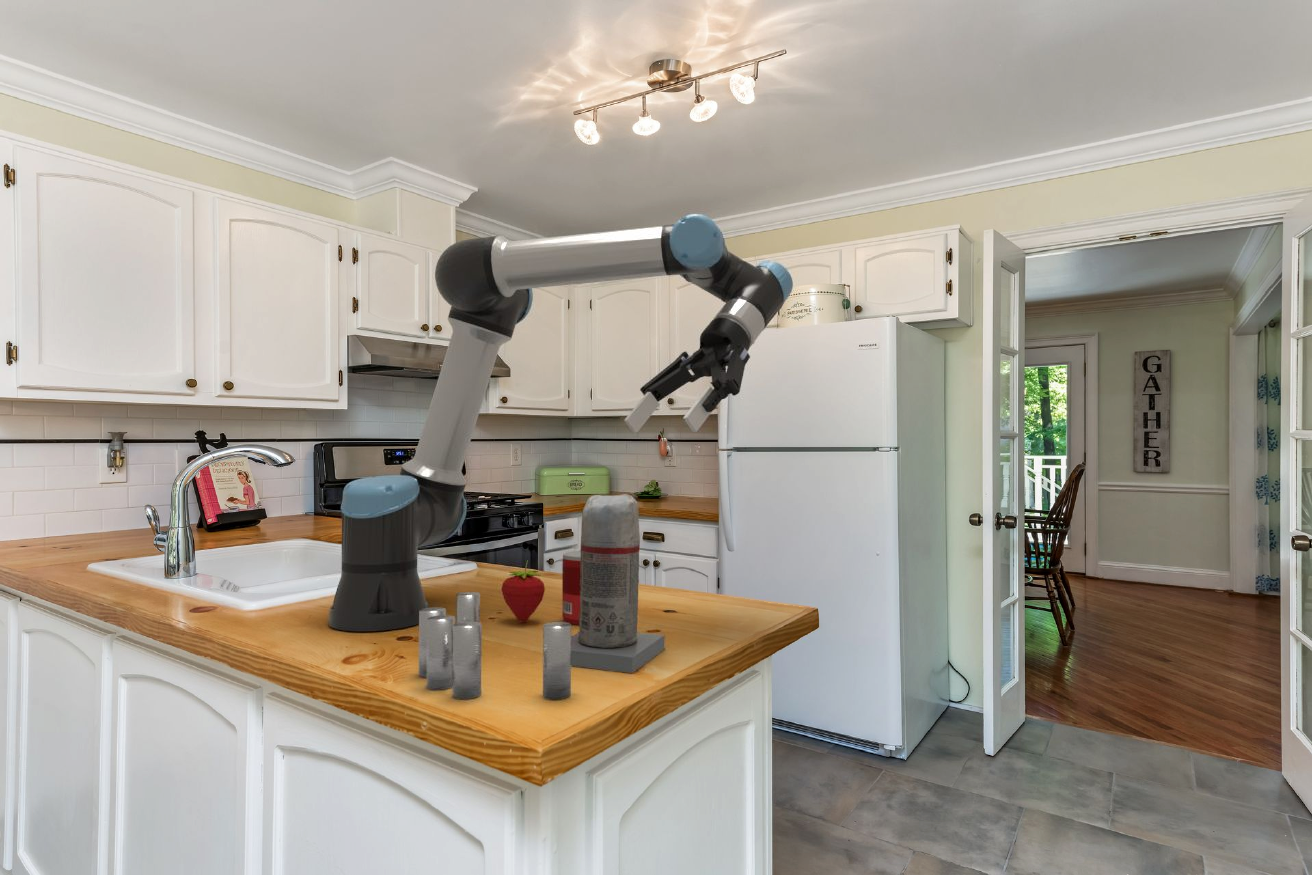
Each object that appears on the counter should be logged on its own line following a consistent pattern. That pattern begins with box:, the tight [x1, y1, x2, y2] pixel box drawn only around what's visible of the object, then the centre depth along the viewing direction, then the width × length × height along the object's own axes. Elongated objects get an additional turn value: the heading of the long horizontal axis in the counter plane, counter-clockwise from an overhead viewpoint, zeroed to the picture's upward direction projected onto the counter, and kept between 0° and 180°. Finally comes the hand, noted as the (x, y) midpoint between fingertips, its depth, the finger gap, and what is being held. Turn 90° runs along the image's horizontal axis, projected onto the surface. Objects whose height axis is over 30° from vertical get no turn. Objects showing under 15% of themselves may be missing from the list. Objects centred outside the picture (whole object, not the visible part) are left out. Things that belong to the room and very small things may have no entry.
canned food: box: [561, 550, 581, 626], centre depth 123 cm, size 8×8×11 cm
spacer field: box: [418, 591, 572, 701], centre depth 93 cm, size 23×18×8 cm
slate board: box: [571, 631, 666, 674], centre depth 102 cm, size 12×12×2 cm
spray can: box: [578, 493, 641, 649], centre depth 102 cm, size 8×8×20 cm
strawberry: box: [501, 560, 546, 623], centre depth 121 cm, size 6×8×10 cm
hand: (658, 426), depth 109 cm, fingers open, 13 cm apart
